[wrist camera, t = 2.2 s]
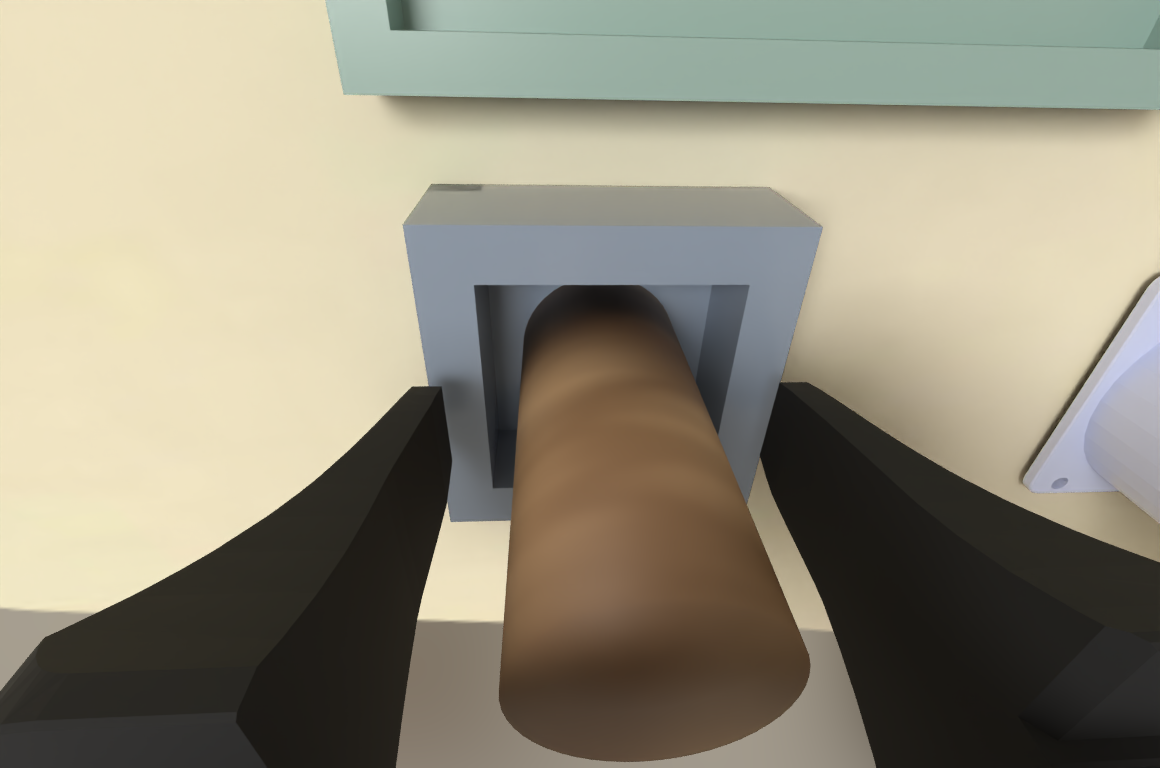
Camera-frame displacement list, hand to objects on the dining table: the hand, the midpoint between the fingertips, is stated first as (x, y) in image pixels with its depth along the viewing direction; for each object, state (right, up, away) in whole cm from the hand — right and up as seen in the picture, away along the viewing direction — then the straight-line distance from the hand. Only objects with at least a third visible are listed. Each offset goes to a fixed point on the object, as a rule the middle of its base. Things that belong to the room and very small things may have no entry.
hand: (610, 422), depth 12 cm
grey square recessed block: (0, +2, +3) cm, 4 cm away
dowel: (0, +2, +3) cm, 3 cm away
